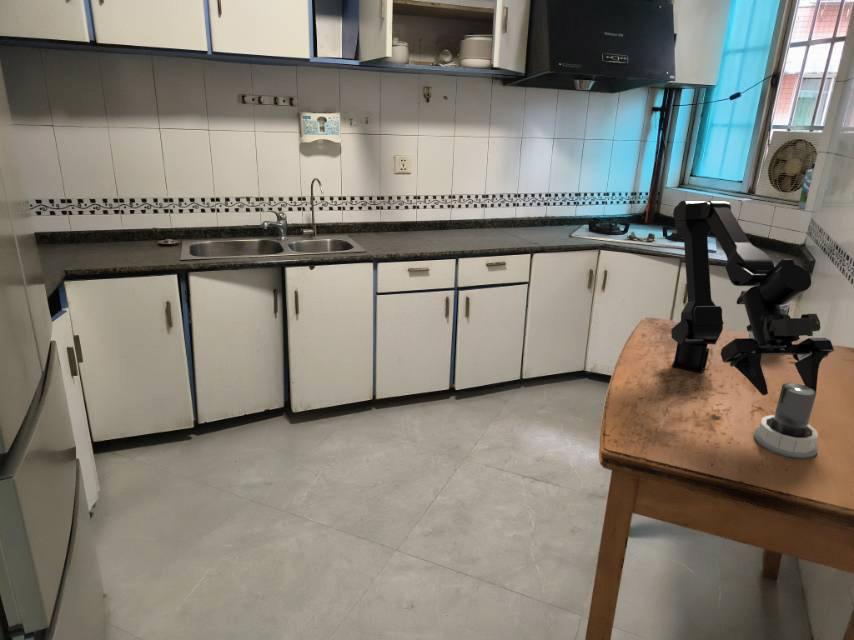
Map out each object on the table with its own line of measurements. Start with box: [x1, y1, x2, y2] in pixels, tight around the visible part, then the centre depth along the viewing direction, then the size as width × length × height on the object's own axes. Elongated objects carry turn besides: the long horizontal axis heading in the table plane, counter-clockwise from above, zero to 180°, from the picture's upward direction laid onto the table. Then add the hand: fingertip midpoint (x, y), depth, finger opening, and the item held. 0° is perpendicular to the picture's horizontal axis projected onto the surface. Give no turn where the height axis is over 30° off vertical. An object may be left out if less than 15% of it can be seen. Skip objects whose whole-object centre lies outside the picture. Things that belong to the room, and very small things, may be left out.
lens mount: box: [753, 414, 819, 459], centre depth 107 cm, size 10×10×3 cm
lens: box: [771, 382, 817, 438], centre depth 106 cm, size 5×5×10 cm
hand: (789, 394), depth 106 cm, fingers open, 9 cm apart
